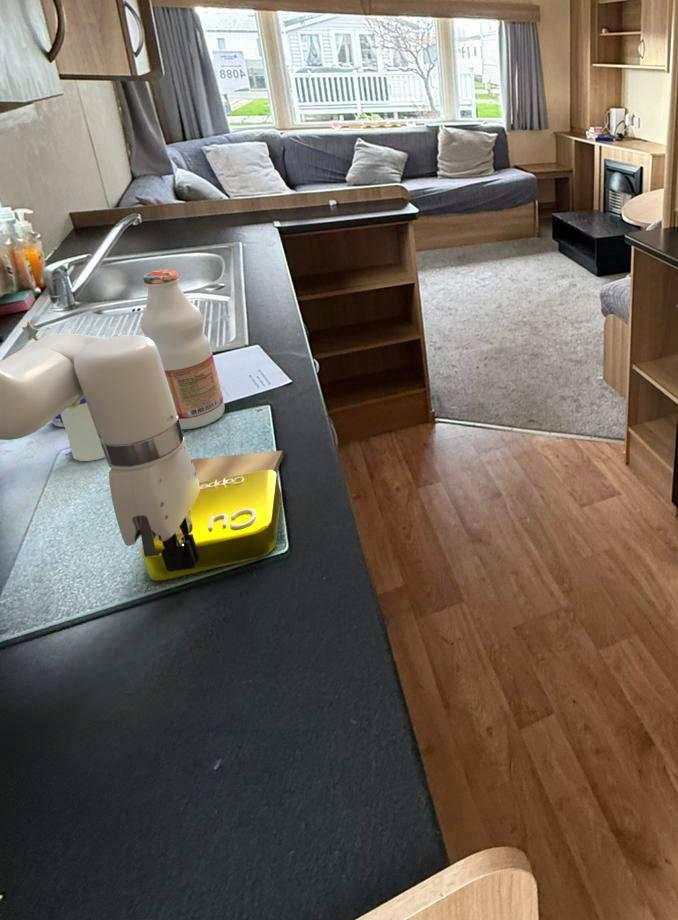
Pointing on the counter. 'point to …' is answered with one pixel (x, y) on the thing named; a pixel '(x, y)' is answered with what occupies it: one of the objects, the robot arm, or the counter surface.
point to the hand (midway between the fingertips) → (183, 565)
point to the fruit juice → (182, 350)
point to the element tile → (229, 523)
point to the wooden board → (236, 465)
